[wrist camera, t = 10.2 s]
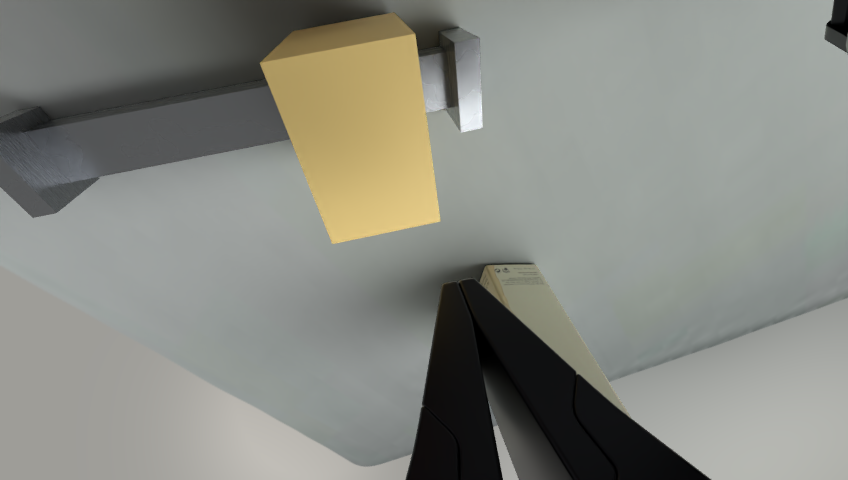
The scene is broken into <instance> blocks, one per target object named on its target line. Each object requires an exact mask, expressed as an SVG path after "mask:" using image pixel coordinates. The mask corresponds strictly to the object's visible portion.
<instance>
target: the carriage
mask: <svg viewBox="0 0 848 480" xmlns="http://www.w3.org/2000/svg"><path fill="white" fill-rule="evenodd" d="M260 65H261V67H262V70H263V72H264V75H265V77H266V80H267V82H268V85H269V87H270V90H271V92H272V95H273V97H274V100H275V102H276V105H277V107H278V110H279V112H280V115H281V117H282V120H283V122H284V125H285V127H286V130H287V132H288V135H289V137H290V140H291V142H292V145H293V147H294V149H295V152H296V154H297V157H298V159H299V162H300V164H301V167H302V169H303V172H304V174H305V177H306V179H307V182H308V184H309V187H310V189H311V192H312V194H313V197H314V199H315V202H316V204H317V207H318V209H319V212H320V214H321V217H322V219H323V222H324V224H325V227H326V229H327V232H328V234H329V237H330V239H331V242H332V244H335V243H339V242H344V241H349V240H354V239H359V238H363V237H368V236H373V235H378V234H382V233H387V232H392V231H397V230H402V229H406V228H411V227H416V226H421V225H426V224H430V223H435V222H440V214H439V207H438V199H437V192H436V184H435V177H434V169H433V162H432V155H431V147H430V140H429V132H428V125H427V117H426V110H425V102H424V95H423V88H422V80H421V73H420V65H419V58H418V50H417V43H416V35H415V33H414V32H413V31H412V30H411V29H410V28H409V27H408V26H407V25H406V24H405V23H404V22H403V21H402V20H401V19H400V18H399V17H398V16H397V15H396V14H395V13H394V12H393V13H388V14H383V15H377V16H372V17H366V18H361V19H356V20H350V21H345V22H339V23H334V24H328V25H323V26H318V27H312V28H307V29H301V30H296V31H293V32H292V33H290V34H289V35H288V36H287V37H286V38H285V39H284V40H283V41H282V42H281V43H280V44H279V45H278V46H277V47H276V48H275V49H274V50H273V51H272V52H271V53H270V54H268V55H267V56H266V57H265V58H264V59H263V60H262V61H261V62H260Z"/></svg>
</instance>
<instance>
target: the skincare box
mask: <svg viewBox="0 0 848 480" xmlns="http://www.w3.org/2000/svg"><path fill="white" fill-rule="evenodd" d="M479 283H480V284H481V285H482V286H484V287H485V288H486V289H487V290H488V291H489V292H490V293H491V294H492V295H493V296H494V297H496V298H497V299H498V300H499V301H500V302H501V303H502V304H503V305H504V306H505V307H507V308H508V309H509V310H510V311H511V312H512V313H513V314H514V315H515V316H516V317H518V318H519V319H520V320H521V321H522V322H523V323H524V324H525V325H526V326H527V327H528V328H530V329H531V330H532V331H533V332H534V333H535V334H536V335H537V336H538V337H539V338H541V339H542V340H543V341H544V342H545V343H546V344H547V345H548V346H549V347H550V348H551V349H553V350H554V351H555V352H556V353H557V354H558V355H559V356H560V357H561V358H562V359H564V360H565V361H566V362H567V363H568V364H569V365H570V366H571V367H572V368H573V369H574V370H576V372H577V374H580V375H581V376H582V377H583V378H585V379H586V380H587V381H588V382H589V383H590V384H591V385H592V386H593V387H594V388H595V389H597V390H598V391H599V392H600V393H601V394H602V395H604V396H605V397H606V398H607V399H608V400H609V401H610V402H612V403H613V404H614V405H615V406H616V407H617V408H619V409H620V410H621V411H623V412H624V413H625V414H626V415H628V416H629V417H630V415H629V414H628V412H627V410H626V409H625V407H624V406H623V404H622V402H621V401H620V399H619V398H618V396H617V394H616V393H615V391H614V390H613V388H612V387H611V385H610V383H609V382H608V380H607V378H606V377H605V375H604V373H603V372H602V370H601V369H600V367H599V365H598V364H597V362H596V361H595V359H594V357H593V356H592V354H591V352H590V351H589V349H588V348H587V346H586V344H585V343H584V341H583V340H582V338H581V336H580V335H579V333H578V332H577V330H576V328H575V327H574V325H573V323H572V322H571V320H570V318H569V317H568V315H567V314H566V312H565V311H564V309H563V307H562V306H561V304H560V303H559V301H558V299H557V298H556V296H555V294H554V293H553V291H552V290H551V288H550V286H549V285H548V283H547V281H546V280H545V278H544V277H543V275H542V273H541V272H540V270H539V268H538V267H537V266H536V265H534V264H533V265H487V266H485V268H484V271H483V274H482V277H481V279H480V282H479ZM577 374H576V375H577ZM630 418H631V417H630Z"/></svg>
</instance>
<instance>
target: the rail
mask: <svg viewBox="0 0 848 480" xmlns="http://www.w3.org/2000/svg"><path fill="white" fill-rule="evenodd" d="M439 40H440V46H438V47H433V48H428V49H422V50H418V58H419V65H420V73H421V80H422V88H423V95H424V102H425V110H426V112H431V111H436V110H441V109H446V111H447V112H448V114H449V115H450V117H451V118H452V120H453V121H454V123H455V124H456V126H457V127H458V129H459V130H460V132H465V131H470V130H475V129H480V128H482V98H481V66H480V38H479V37H477V36H475V35H473V34H471V33H469V32H467V31H466V30H464V29H462V28H455V29H449V30H444V31H439ZM288 139H290V137H289V135H288V132H287V130H286V127H285V125H284V122H283V120H282V117H281V115H280V112H279V110H278V107H277V105H276V102H275V100H274V97H273V95H272V92H271V90H270V87H269V85H268V82H267V80H266V79H264V80H259V81H254V82H248V83H243V84H238V85H233V86H227V87H222V88H217V89H211V90H206V91H201V92H196V93H190V94H185V95H180V96H174V97H169V98H164V99H159V100H153V101H148V102H143V103H138V104H132V105H127V106H122V107H116V108H111V109H106V110H101V111H95V112H90V113H85V114H80V115H74V116H69V117H64V118H58V119H53V120H50V119H49V117H48V116H47V115H46V114H45V113H44V111H43V110H42V109H41V108H40V107H34V108H29V109H24V110H18V111H15V112H12V113H10V114H7V115H5V116H2V117H0V187H1V188H2V189H3V190H4V191H5V192H6V193H7V194H8V195H9V196H10V197H12V198H13V199H14V200H15V201H16V202H17V203H18V204H19V205H20V206H21V207H22V208H23V209H24V210H25V211H26V212H27V213H28V214H29V215H31V216H32V217H33V218H34V217H39V216H44V215H49V214H54V213H57V212H58V211H60V210H61V209H62V208H63V207H65V206H66V205H67V204H68V203H70V202H71V201H72V200H73V199H74V198H76V197H77V196H78V195H79V194H81V193H82V192H83V191H84V190H86V189H87V188H88V187H89V186H91V185H92V184H93V183H94V182H96V181H97V180H98V179H99V178H98V177H100V176H105V175H110V174H115V173H121V172H126V171H131V170H136V169H141V168H146V167H151V166H156V165H161V164H166V163H171V162H176V161H182V160H187V159H192V158H197V157H202V156H207V155H212V154H217V153H222V152H227V151H232V150H238V149H243V148H248V147H253V146H258V145H263V144H268V143H273V142H278V141H283V140H288Z"/></svg>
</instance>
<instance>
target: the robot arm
mask: <svg viewBox="0 0 848 480" xmlns="http://www.w3.org/2000/svg"><path fill="white" fill-rule="evenodd" d="M825 40H827V41H828V42H830V43H832V44H833V45H835V46H837V47H838V48H840V49H842V50H843V51H845V52H847V53H848V0H834V4H833V11H832V18H831V21H829V22H828V23H827V25H826V31H825ZM576 374H577V372H576V370H574V369H573V368H572V367H571V366H570V365H569V364H568V363H567V362H566V361H565V360H564V359H562V358H561V357H560V356H559V355H558V354H557V353H556V352H555V351H554V350H553V349H551V348H550V347H549V346H548V345H547V344H546V343H545V342H544V341H543V340H542V339H541V338H539V337H538V336H537V335H536V334H535V333H534V332H533V331H532V330H531V329H530V328H528V327H527V326H526V325H525V324H524V323H523V322H522V321H521V320H520V319H519V318H518V317H516V316H515V315H514V314H513V313H512V312H511V311H510V310H509V309H508V308H507V307H505V306H504V305H503V304H502V303H501V302H500V301H499V300H498V299H497V298H496V297H494V296H493V295H492V294H491V293H490V292H489V291H488V290H487V289H486V288H485V287H484V286H482V285H481V284H480V283H479V282H478V281H477V280H476V279H474V278H468V279H463V280H460V281H459V282H457V281H452V282H447V283H443V284H442V287H441V293H440V299H439V305H438V311H437V317H436V323H435V329H434V335H433V341H432V347H431V353H430V359H429V365H428V371H427V377H426V383H425V389H424V395H423V401H422V408H421V412H420V418H419V424H418V429H417V434H416V439H415V444H414V449H413V453H412V457H411V461H410V465H409V469H408V473H407V476H406V480H503V478H502V472H501V468H500V462H499V456H498V451H497V446H496V440H495V436H494V430H493V424H492V419H491V414H490V409H489V403H490V406H491V408H492V411H493V414H494V416H495V419H496V421H497V424H498V426H499V429H500V432H501V434H502V437H503V439H504V442H505V445H506V447H507V450H508V452H509V455H510V457H511V460H512V463H513V465H514V468H515V471H516V473H517V476H518V478H519V480H711V479H709V478H708V477H707V476H706V475H705V474H703V473H702V472H701V471H699V470H698V469H697V468H695V467H694V466H693V465H691V464H690V463H689V462H687V461H686V460H685V459H683V458H682V457H681V456H680V455H678V454H677V453H676V452H674V451H673V450H672V449H670V448H669V447H668V446H666V445H665V444H664V443H662V442H661V441H660V440H659V439H657V438H656V437H655V436H653V435H652V434H651V433H649V432H648V431H647V430H645V429H644V428H643V427H642V426H640V425H639V424H638V423H636V422H635V421H634V420H632V419H631V418H630V417H629V416H628V415H626V414H625V413H624V412H623V411H621V410H620V409H619V408H617V407H616V406H615V405H614V404H613V403H612V402H610V401H609V400H608V399H607V398H606V397H605V396H604V395H602V394H601V393H600V392H599V391H598V390H597V389H595V388H594V387H593V386H592V385H591V384H590V383H589V382H588V381H587V380H586V379H585V378H583V377H582V376H581V375H580V374H577V375H576ZM488 401H489V403H488Z"/></svg>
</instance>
